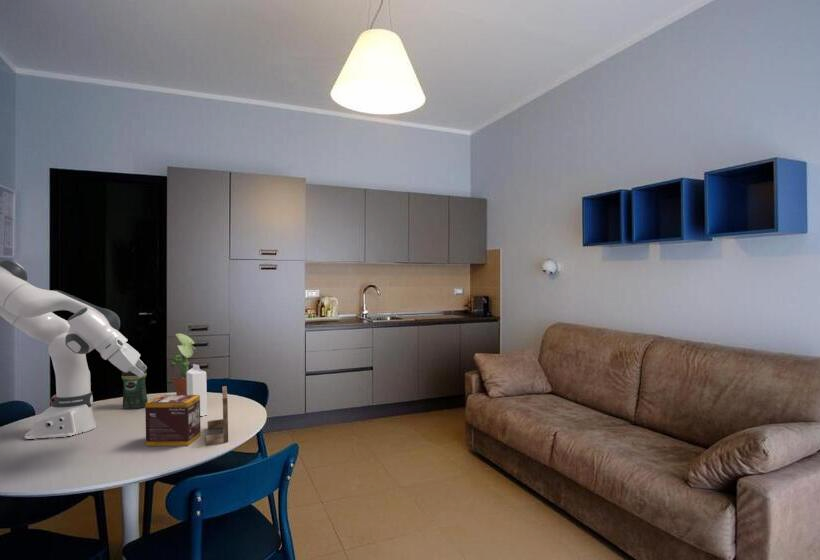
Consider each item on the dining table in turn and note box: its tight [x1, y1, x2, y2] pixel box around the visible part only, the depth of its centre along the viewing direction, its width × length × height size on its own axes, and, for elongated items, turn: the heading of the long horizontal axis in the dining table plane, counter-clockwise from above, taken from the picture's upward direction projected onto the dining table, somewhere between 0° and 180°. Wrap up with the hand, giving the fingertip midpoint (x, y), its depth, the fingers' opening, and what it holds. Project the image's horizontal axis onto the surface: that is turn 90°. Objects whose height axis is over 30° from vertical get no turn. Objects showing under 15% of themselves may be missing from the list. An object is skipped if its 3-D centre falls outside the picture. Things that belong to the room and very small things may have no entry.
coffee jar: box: [121, 365, 149, 410], centre depth 218 cm, size 10×8×19 cm
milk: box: [186, 363, 208, 417], centre depth 203 cm, size 6×6×22 cm
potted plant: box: [170, 332, 196, 395], centre depth 220 cm, size 16×15×35 cm
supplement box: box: [144, 394, 202, 447], centre depth 174 cm, size 10×15×16 cm
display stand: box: [205, 385, 229, 446], centre depth 180 cm, size 7×19×16 cm, turn 22°
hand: (144, 372), depth 171 cm, fingers open, 8 cm apart
